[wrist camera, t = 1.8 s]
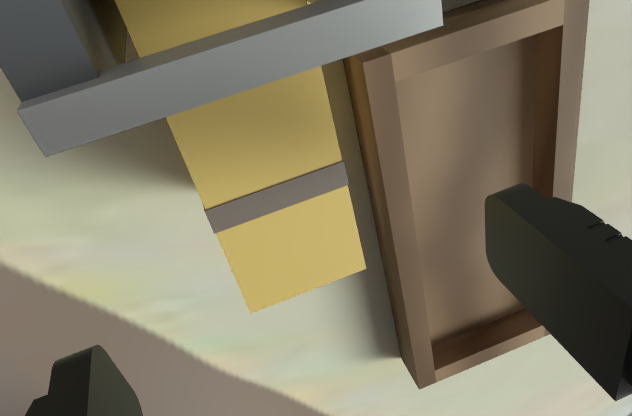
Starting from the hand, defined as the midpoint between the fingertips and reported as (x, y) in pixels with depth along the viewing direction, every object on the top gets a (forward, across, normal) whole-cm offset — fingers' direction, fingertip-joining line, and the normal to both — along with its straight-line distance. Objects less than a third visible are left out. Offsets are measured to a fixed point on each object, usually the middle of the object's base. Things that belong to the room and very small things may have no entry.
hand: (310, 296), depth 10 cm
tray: (+10, -9, +8) cm, 15 cm away
